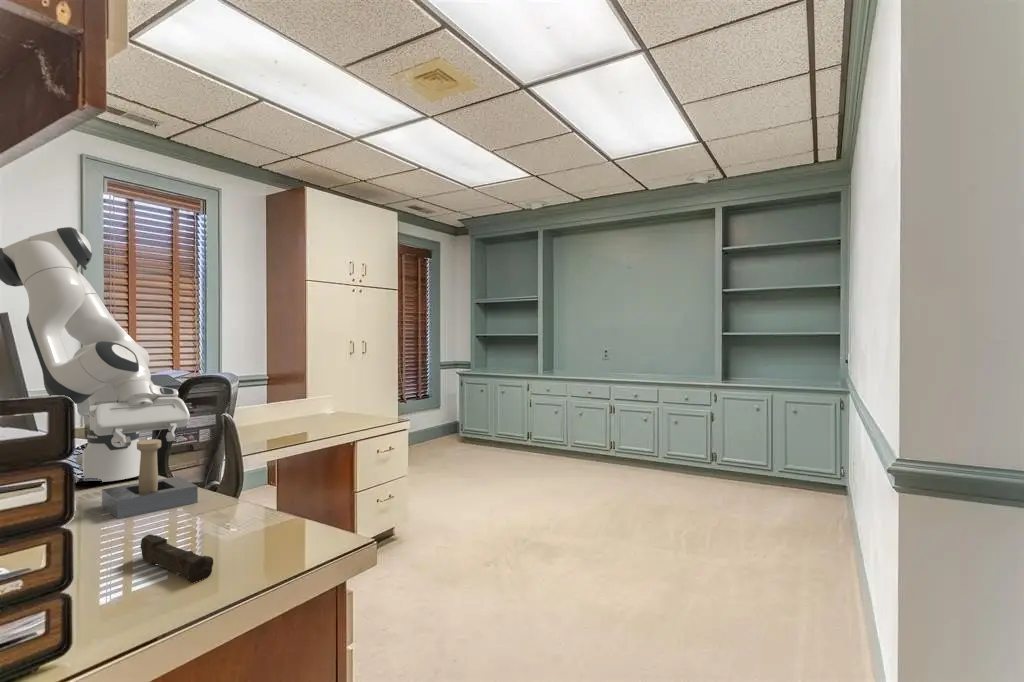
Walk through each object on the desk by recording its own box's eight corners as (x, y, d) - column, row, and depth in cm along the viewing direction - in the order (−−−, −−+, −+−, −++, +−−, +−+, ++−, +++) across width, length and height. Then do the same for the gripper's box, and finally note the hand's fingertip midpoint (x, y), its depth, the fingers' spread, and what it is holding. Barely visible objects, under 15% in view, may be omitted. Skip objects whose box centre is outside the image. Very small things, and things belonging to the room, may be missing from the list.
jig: (102, 506, 126) (102, 489, 126) (178, 491, 138) (178, 476, 138) (117, 519, 117) (117, 500, 117) (197, 502, 129) (197, 485, 129)
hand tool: (214, 577, 88) (214, 549, 88) (189, 587, 85) (189, 557, 85) (159, 553, 99) (159, 528, 99) (135, 561, 95) (135, 535, 95)
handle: (135, 509, 124) (136, 444, 124) (135, 502, 129) (136, 440, 129) (160, 505, 126) (161, 442, 127) (159, 499, 132) (160, 438, 132)
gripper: (89, 394, 128) (100, 440, 122) (183, 389, 144) (198, 429, 138) (84, 411, 131) (95, 456, 125) (177, 404, 147) (191, 444, 140)
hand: (149, 442), depth 131 cm, fingers open, 8 cm apart
